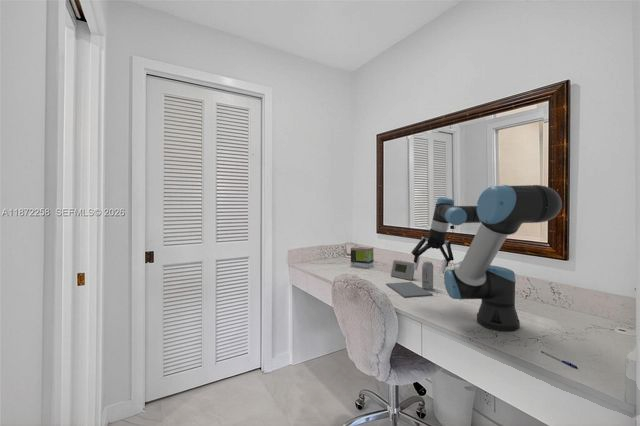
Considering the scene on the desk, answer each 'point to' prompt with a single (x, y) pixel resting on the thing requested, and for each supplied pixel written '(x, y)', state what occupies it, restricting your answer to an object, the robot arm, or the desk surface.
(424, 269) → the energy drink can
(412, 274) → the digital clock
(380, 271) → the desk surface
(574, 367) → the screwdriver
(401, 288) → the rubber mat
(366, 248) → the tea box
